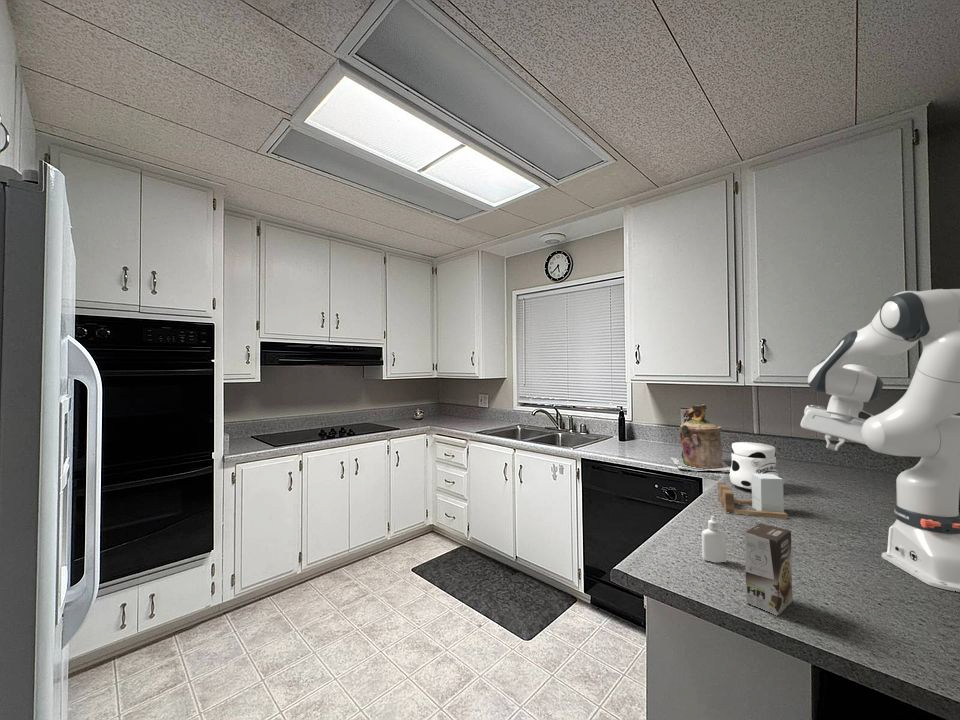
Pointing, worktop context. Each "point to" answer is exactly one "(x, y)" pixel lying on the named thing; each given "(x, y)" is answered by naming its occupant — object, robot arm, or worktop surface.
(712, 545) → the eye dropper bottle
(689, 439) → the cookie jar
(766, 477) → the supplement box
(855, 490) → the worktop surface
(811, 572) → the worktop surface
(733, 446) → the milk container
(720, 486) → the stop board
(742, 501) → the guide rails
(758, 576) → the coffee box
